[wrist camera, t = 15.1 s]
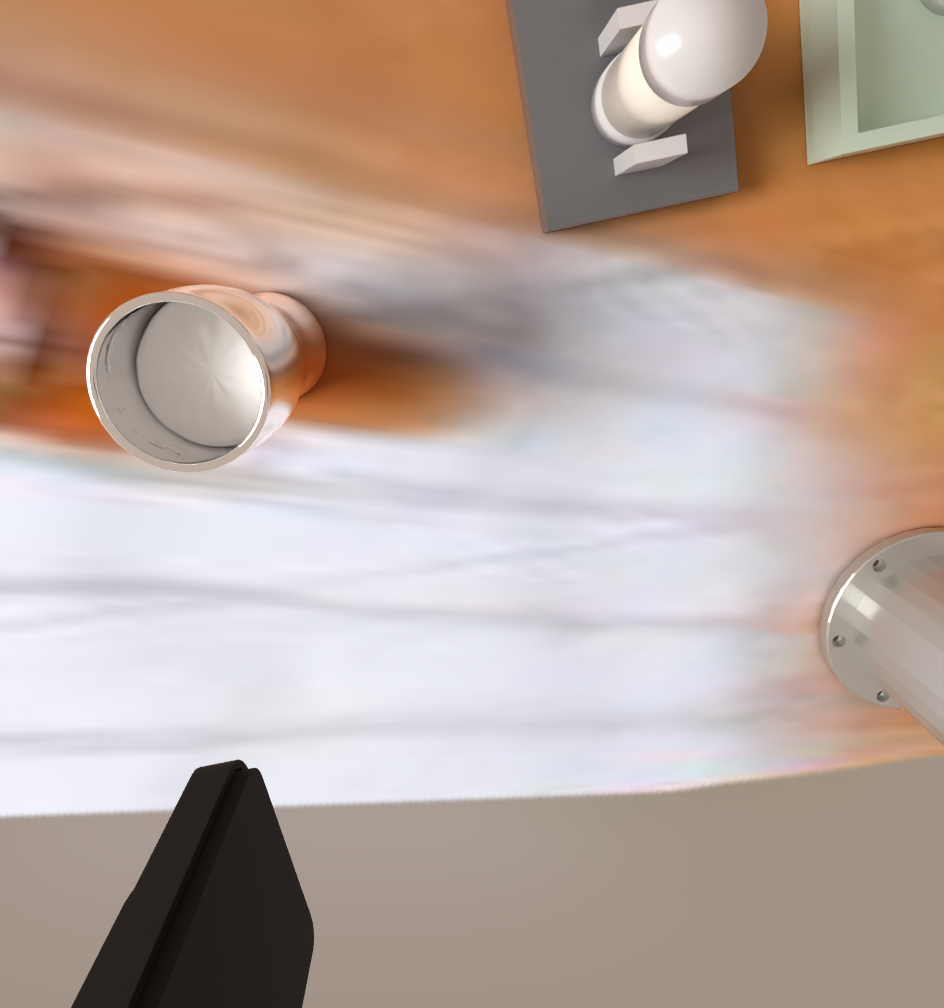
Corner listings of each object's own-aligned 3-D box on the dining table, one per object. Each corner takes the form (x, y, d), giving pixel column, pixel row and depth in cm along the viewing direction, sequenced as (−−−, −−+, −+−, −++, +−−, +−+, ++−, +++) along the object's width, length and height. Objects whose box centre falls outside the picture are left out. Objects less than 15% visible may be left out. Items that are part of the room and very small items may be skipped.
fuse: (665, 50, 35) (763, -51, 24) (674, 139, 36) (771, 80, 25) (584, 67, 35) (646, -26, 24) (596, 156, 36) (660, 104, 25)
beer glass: (360, 347, 40) (315, 384, 26) (280, 434, 41) (195, 515, 27) (264, 255, 38) (159, 240, 24) (183, 349, 40) (39, 387, 26)
